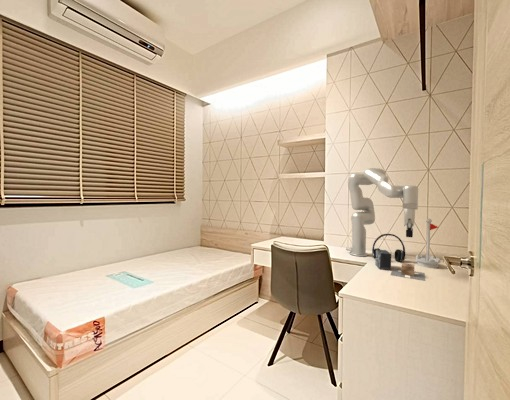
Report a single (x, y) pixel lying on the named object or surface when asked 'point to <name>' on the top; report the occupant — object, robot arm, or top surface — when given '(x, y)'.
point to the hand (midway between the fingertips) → (409, 235)
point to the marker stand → (426, 259)
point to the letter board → (416, 275)
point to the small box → (383, 259)
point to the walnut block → (407, 269)
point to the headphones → (398, 253)
